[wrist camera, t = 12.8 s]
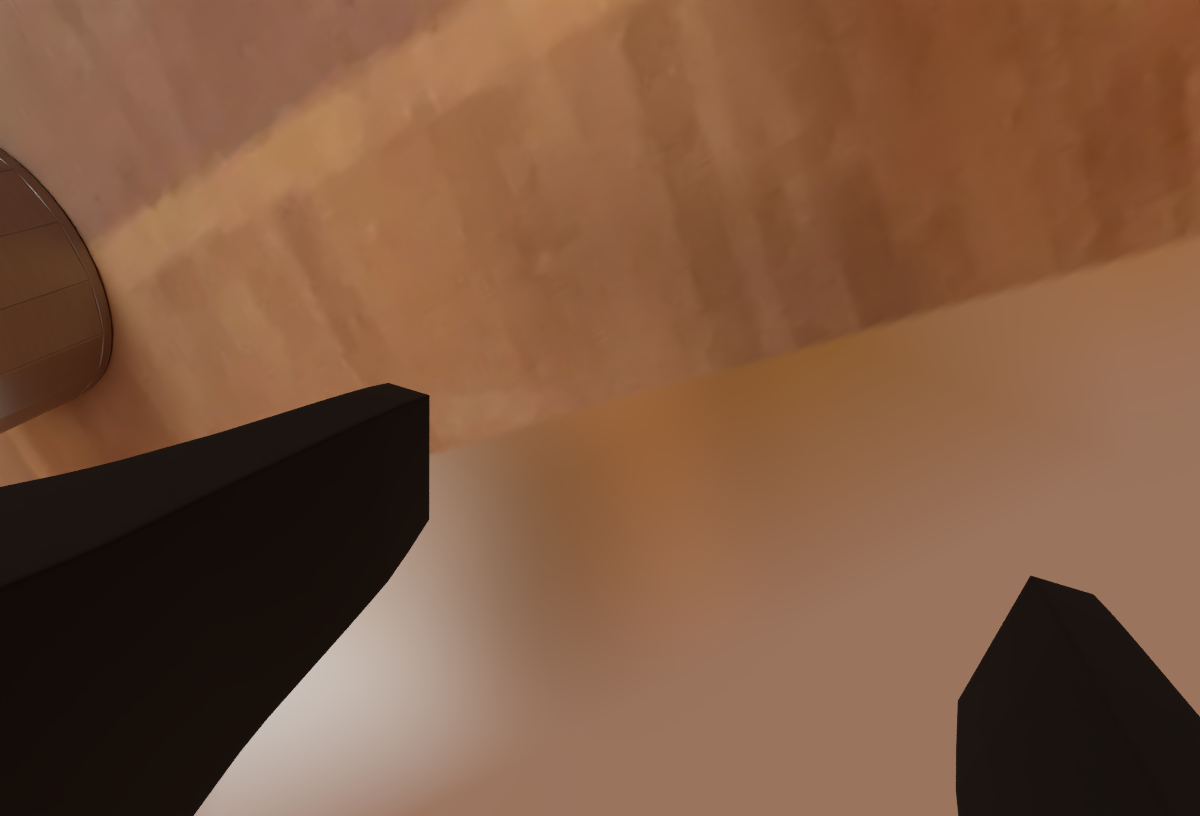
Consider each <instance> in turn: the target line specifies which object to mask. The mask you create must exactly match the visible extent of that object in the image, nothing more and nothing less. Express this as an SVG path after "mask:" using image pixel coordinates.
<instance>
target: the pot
mask: <svg viewBox="0 0 1200 816" xmlns="http://www.w3.org/2000/svg"><path fill="white" fill-rule="evenodd" d="M111 344H112V330H111V319H110V313H109V308H108V303H107V300H106V296H105V293H104V289H103V286H102V283H101V281H100V278H99V276H98V273H97V270H96V268H95V266H94V264H93V261H92V259H91V257H90V255H89V253H88V251H87V249H86V247H85V245H84V244H83V242H82V240H81V239H80V237H79V235H78V233H77V232H76V230H75V228H74V227H73V225H72V224H71V223H70V221H69V220H68V218H67V217H66V215H65V214H64V212H63V211H62V209H61V208H60V207H59V206H58V204H57V203H56V202H55V201H54V199H53V198H52V197H51V196H50V194H49V193H48V192H47V191H46V190H45V189H44V188H43V187H42V186H41V184H40V183H39V182H38V181H37V180H36V179H35V178H34V177H33V176H32V175H31V174H30V173H29V172H28V171H27V170H26V169H25V168H23V167H22V166H21V165H20V164H19V163H18V162H17V161H16V160H14V159H13V158H12V157H10V156H9V155H8V154H7V153H5V152H4V151H3V150H1V149H0V434H1V433H3V432H5V431H7V430H9V429H11V428H13V427H16V426H18V425H20V424H22V423H24V422H26V421H28V420H30V419H32V418H34V417H37V416H39V415H41V414H43V413H45V412H47V411H49V410H51V409H53V408H55V407H58V406H60V405H62V404H64V403H66V402H68V401H70V400H72V399H74V398H76V397H78V396H79V395H80V394H81V393H82V392H83V391H85V390H87V389H89V388H91V387H92V386H93V385H94V384H95V383H96V382H98V380H99V379H100V377H101V376H102V375H103V373H104V371H105V369H106V367H107V364H108V362H109V357H110V353H111Z"/></svg>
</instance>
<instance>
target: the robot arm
mask: <svg viewBox="0 0 1200 816" xmlns="http://www.w3.org/2000/svg"><path fill="white" fill-rule="evenodd" d="M428 520H429V395H427V394H423V393H420V392H417V391H413V390H410V389H407V388H403V387H400V386H397V385H393V384H390V383H386V384H381V385H377V386H372V387H368V388H364V389H360V390H357V391H353V392H350V393H346V394H343V395H339V396H336V397H333V398H329V399H326V400H323V401H320V402H316V403H313V404H310V405H307V406H304V407H300V408H297V409H294V410H291V411H288V412H284V413H281V414H278V415H275V416H272V417H268V418H265V419H262V420H259V421H256V422H252V423H249V424H246V425H243V426H239V427H236V428H233V429H230V430H227V431H223V432H220V433H217V434H213V435H210V436H206V437H202V438H199V439H195V440H192V441H188V442H184V443H181V444H177V445H174V446H170V447H166V448H163V449H159V450H156V451H152V452H148V453H145V454H141V455H138V456H134V457H130V458H127V459H123V460H120V461H116V462H112V463H107V464H103V465H99V466H95V467H91V468H87V469H83V470H78V471H74V472H70V473H65V474H61V475H56V476H51V477H47V478H42V479H37V480H32V481H27V482H22V483H18V484H13V485H8V486H3V487H0V816H194V814H195V813H196V811H197V810H198V809H199V807H200V806H201V805H202V803H203V802H204V801H205V799H206V798H207V796H208V795H209V794H210V792H211V791H212V790H213V788H214V787H215V785H216V784H217V782H218V781H219V780H220V779H221V777H222V776H223V774H224V773H225V772H226V770H227V769H228V768H229V766H230V765H231V764H232V762H233V761H234V759H235V758H236V757H237V755H238V754H239V753H240V751H241V750H242V749H243V747H244V746H245V745H246V744H247V743H248V742H249V740H250V739H251V738H252V737H253V735H254V734H255V733H256V732H257V731H258V729H259V728H260V727H261V726H262V724H263V723H264V722H265V721H266V720H267V718H268V717H269V716H270V715H271V714H272V713H273V711H274V710H275V709H276V708H277V707H278V706H279V705H280V703H281V702H282V701H283V700H284V699H285V698H286V697H287V696H288V694H289V693H290V692H291V691H292V690H293V689H294V688H295V687H296V685H297V684H298V683H299V682H300V681H301V680H302V679H303V678H304V677H305V675H306V674H307V673H308V672H309V671H310V670H311V669H312V667H313V666H314V665H315V664H316V663H317V662H318V660H320V658H321V657H322V656H323V655H324V654H325V653H326V652H327V651H328V649H329V648H330V647H331V646H332V645H333V644H334V643H335V642H336V640H337V639H338V638H339V637H340V636H341V635H342V634H343V633H344V631H345V630H346V629H347V628H348V627H349V626H350V625H351V623H352V622H353V621H354V620H355V619H356V618H357V617H358V615H359V614H360V613H361V612H362V611H363V610H364V608H365V607H366V606H367V605H368V604H369V603H370V602H371V600H372V599H373V598H374V597H375V596H376V595H377V593H378V592H379V591H380V590H381V589H382V588H383V586H384V585H385V584H386V583H387V582H388V580H389V579H390V577H391V576H392V575H393V573H394V572H395V570H396V569H397V567H398V566H399V565H400V563H401V562H402V560H403V559H404V557H405V556H406V554H407V553H408V551H409V550H410V548H411V547H412V545H413V544H414V542H415V541H416V539H417V537H418V536H419V534H420V533H421V531H422V530H423V528H424V526H425V525H426V523H427V522H428ZM956 796H957V806H958V816H1200V717H1199V715H1198V714H1197V713H1196V712H1195V711H1194V710H1193V708H1192V707H1191V706H1190V705H1189V704H1188V702H1187V701H1186V700H1185V699H1184V698H1183V696H1182V695H1181V694H1180V693H1179V692H1178V691H1177V689H1176V688H1175V687H1174V686H1173V685H1172V683H1171V682H1170V681H1169V680H1168V679H1167V678H1166V676H1165V675H1164V674H1163V673H1162V672H1161V670H1160V669H1159V668H1158V667H1157V666H1156V665H1155V663H1154V662H1153V661H1152V660H1151V659H1150V657H1149V656H1148V655H1147V654H1146V653H1145V652H1144V650H1143V649H1142V648H1141V647H1140V646H1139V644H1138V643H1137V642H1136V641H1135V640H1134V639H1133V638H1132V636H1131V635H1130V634H1129V633H1128V632H1127V631H1126V629H1125V628H1124V627H1123V626H1122V625H1121V624H1120V623H1119V621H1118V620H1117V619H1116V618H1115V617H1114V616H1113V615H1112V614H1111V612H1110V611H1108V609H1107V608H1106V607H1105V606H1104V605H1103V604H1102V603H1101V602H1100V601H1099V600H1098V599H1097V598H1096V597H1095V596H1094V595H1093V594H1090V593H1087V592H1083V591H1080V590H1077V589H1073V588H1070V587H1067V586H1063V585H1060V584H1057V583H1053V582H1050V581H1047V580H1043V579H1040V578H1037V577H1033V576H1030V578H1029V579H1028V581H1027V583H1026V584H1025V586H1024V588H1023V590H1022V591H1021V593H1020V595H1019V596H1018V598H1017V600H1016V602H1015V603H1014V605H1013V607H1012V609H1011V610H1010V612H1009V614H1008V616H1007V617H1006V619H1005V621H1004V622H1003V624H1002V626H1001V627H1000V629H999V631H998V633H997V634H996V636H995V638H994V640H993V641H992V643H991V645H990V647H989V648H988V650H987V652H986V653H985V655H984V657H983V659H982V660H981V662H980V664H979V666H978V667H977V669H976V671H975V672H974V674H973V676H972V678H971V679H970V681H969V683H968V684H967V686H966V688H965V690H964V691H963V693H962V695H961V696H960V698H959V700H958V714H957V744H956Z"/></svg>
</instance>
